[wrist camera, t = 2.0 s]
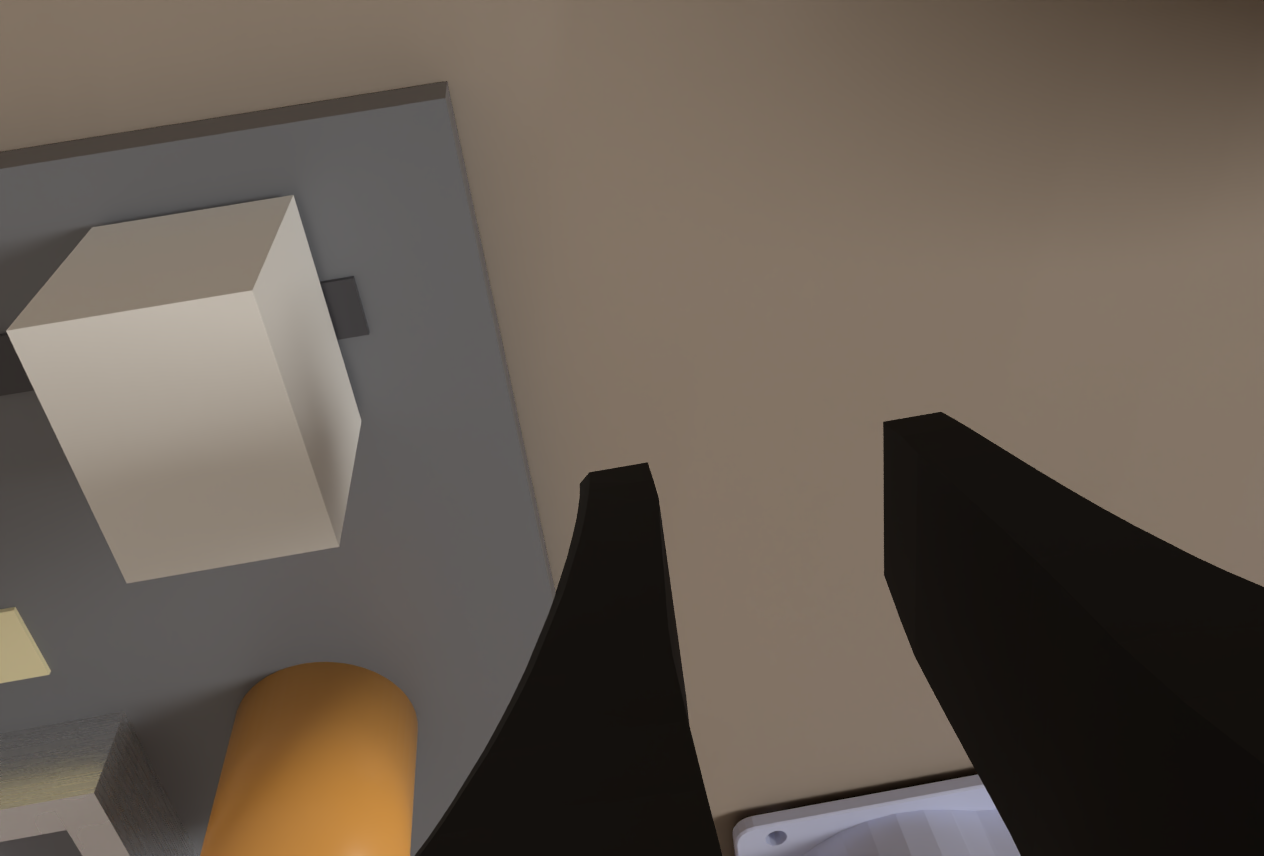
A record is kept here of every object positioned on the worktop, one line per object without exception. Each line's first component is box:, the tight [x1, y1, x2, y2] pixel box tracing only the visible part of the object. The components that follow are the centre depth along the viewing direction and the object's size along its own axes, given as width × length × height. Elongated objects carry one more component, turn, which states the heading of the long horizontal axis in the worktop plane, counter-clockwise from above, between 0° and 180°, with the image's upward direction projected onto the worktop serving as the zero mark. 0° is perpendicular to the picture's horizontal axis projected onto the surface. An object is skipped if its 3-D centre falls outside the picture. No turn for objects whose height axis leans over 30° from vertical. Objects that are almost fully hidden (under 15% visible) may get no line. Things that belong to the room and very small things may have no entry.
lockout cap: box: [200, 662, 418, 856], centre depth 20 cm, size 4×4×5 cm
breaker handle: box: [6, 195, 361, 583], centre depth 16 cm, size 3×4×4 cm
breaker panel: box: [0, 81, 555, 856], centre depth 21 cm, size 16×18×2 cm
